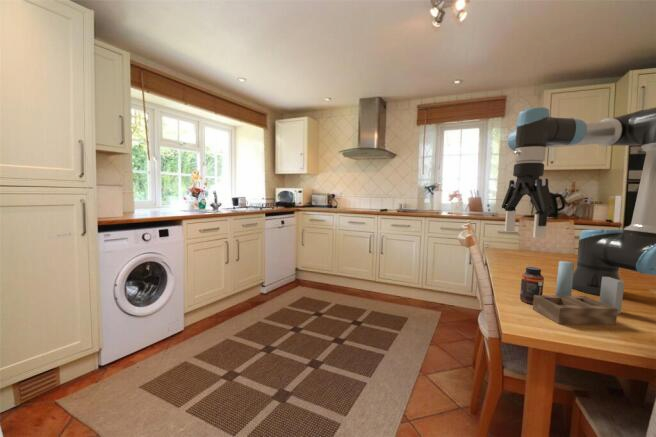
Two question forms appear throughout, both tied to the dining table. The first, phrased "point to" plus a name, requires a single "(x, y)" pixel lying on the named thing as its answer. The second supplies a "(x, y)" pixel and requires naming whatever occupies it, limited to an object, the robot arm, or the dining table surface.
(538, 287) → the supplement bottle
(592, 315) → the socket block
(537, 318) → the dining table surface
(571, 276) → the dowel bit
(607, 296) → the grey rectangular block
